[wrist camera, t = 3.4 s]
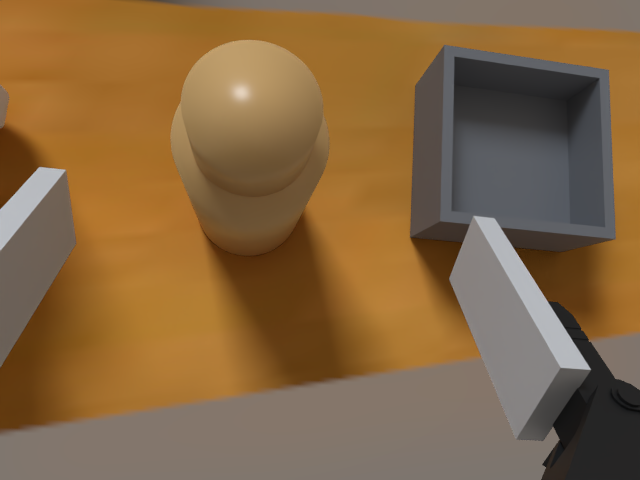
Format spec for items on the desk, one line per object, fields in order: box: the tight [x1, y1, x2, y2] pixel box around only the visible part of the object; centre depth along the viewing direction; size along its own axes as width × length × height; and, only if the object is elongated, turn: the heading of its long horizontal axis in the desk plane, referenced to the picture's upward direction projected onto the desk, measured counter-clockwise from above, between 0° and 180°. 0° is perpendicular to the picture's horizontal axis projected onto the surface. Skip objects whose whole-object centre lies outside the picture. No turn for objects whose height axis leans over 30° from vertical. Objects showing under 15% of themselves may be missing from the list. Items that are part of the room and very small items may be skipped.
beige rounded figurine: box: [171, 40, 329, 256], centre depth 19 cm, size 5×5×12 cm
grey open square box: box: [410, 45, 616, 252], centre depth 25 cm, size 8×8×4 cm
